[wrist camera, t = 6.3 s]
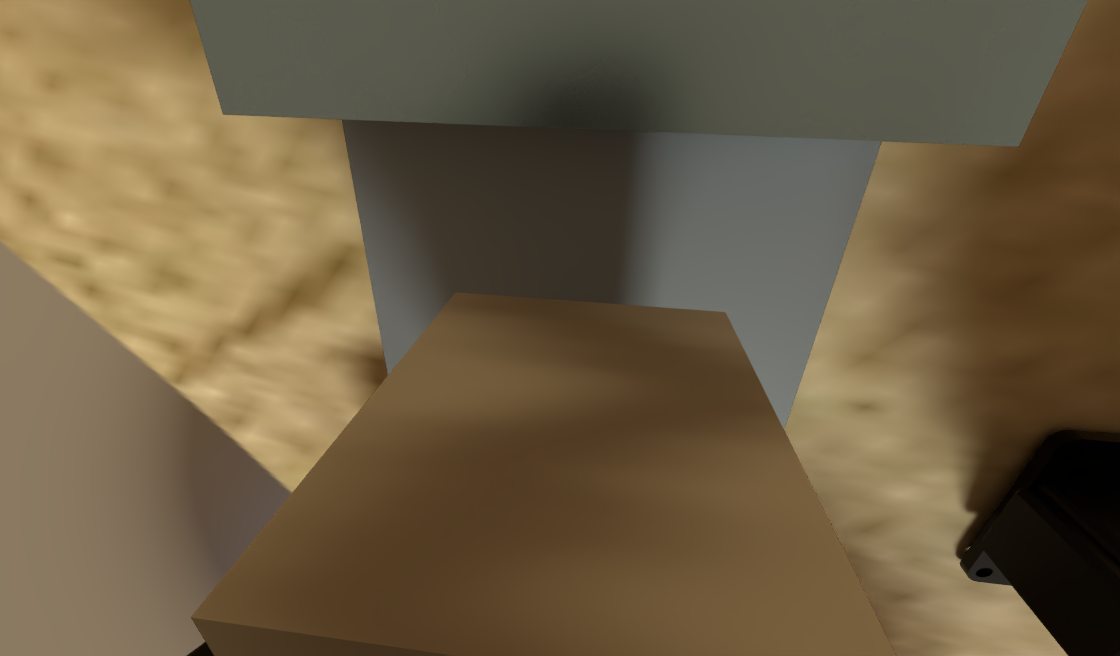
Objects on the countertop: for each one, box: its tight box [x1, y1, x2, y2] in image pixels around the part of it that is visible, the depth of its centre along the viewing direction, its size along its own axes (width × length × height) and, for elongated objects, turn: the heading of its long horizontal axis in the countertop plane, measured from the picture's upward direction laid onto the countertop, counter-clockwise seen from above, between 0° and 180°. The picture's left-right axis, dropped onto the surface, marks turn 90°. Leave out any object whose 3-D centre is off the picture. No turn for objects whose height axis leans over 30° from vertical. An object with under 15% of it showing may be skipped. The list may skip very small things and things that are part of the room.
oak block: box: [191, 292, 896, 656], centre depth 7 cm, size 5×7×6 cm
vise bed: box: [342, 119, 882, 429], centre depth 9 cm, size 12×24×4 cm, turn 178°
